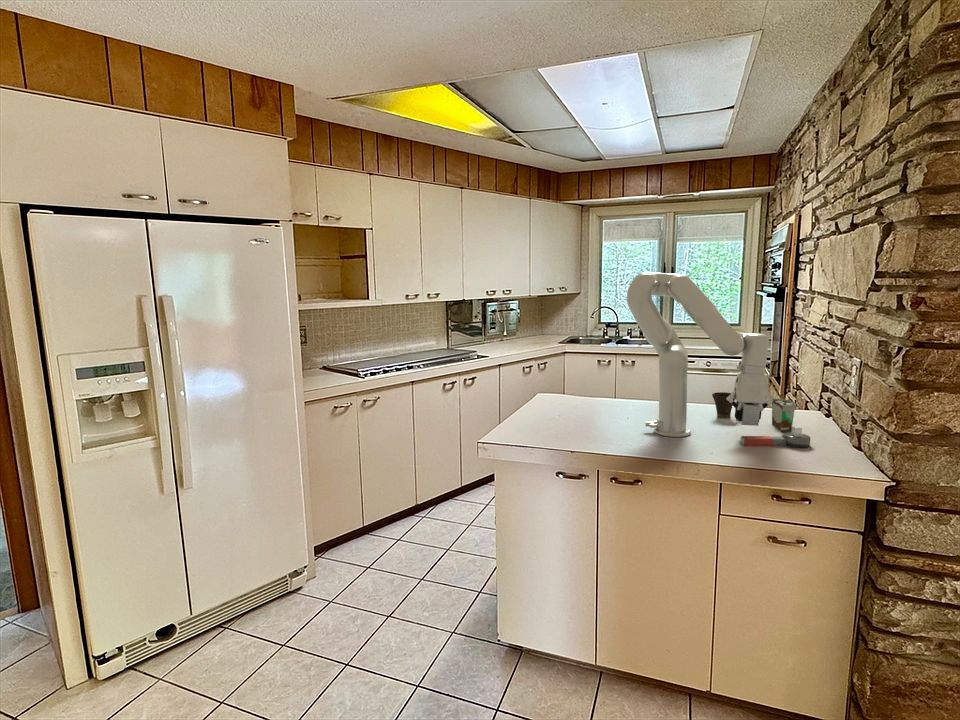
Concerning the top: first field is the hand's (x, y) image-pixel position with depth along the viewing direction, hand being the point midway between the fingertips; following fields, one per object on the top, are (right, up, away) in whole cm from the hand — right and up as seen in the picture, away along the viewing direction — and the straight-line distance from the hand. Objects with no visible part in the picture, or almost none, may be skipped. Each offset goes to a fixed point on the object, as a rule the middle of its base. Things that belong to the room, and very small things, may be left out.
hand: (747, 420), depth 186 cm
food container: (+19, -4, +10) cm, 21 cm away
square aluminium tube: (0, -1, 0) cm, 1 cm away
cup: (+4, -2, +28) cm, 28 cm away
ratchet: (+5, -7, -8) cm, 12 cm away
